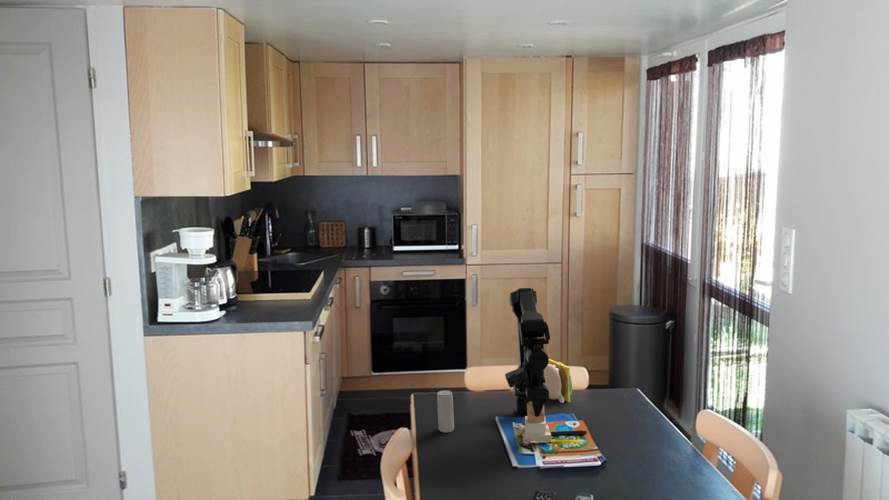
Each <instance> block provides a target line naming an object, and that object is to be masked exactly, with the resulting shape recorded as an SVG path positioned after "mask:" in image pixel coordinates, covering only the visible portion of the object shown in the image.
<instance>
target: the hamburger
mask: <svg viewBox="0 0 889 500" xmlns="http://www.w3.org/2000/svg"><path fill="white" fill-rule="evenodd" d="M544 377H545V383H543V384H544V385H545V386H547V387H548V390H549V398H548V399H550V400H558V401H559V402H560V403H561V404H564V403H565V401H566V402H567V403H571V395H572V392H573V380H572V377H571V373H570V367H569V366H567V365H565V364H564V363H562V362H561V361H555V360H552V359H550V358H549V363H548V365H547V367H546V368H545V369H544Z"/></svg>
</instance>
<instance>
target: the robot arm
mask: <svg viewBox="0 0 889 500" xmlns="http://www.w3.org/2000/svg"><path fill="white" fill-rule="evenodd" d="M537 296H538V295H537V291H536V290H534V288H531V287H519V288H517V289H516V290H515V291H511V292H510V293H509V307H511V311H512V313H513V315H514V316H515V317H516V319H517V336H518V339H517V340H518V356H519V357H518V358H519V364H518V366H517V368H516V369H513V370H511V371H508V372H507V373H505V374H504V377H505V380H506V382H507V384H508V387H509V389H510V388H511V389H513V390H512V391H513V394H514V397H516V409H514V410H513V412H514V413H517V414H520V415H524V416H527V403H528V402H530V401H532V405H533V409H534V414H535V417H539V415H540V413H541V410H542V408H543V406H544V407H545V403H546V400H548V399H550V398H549V390H548V387H547V386H545V385H544V384H543V383H545V377H544V369H545V368H546V367H547V365H548V363H549V359H550V358H549V355H548V354H547V352H546V350H545V348H544V345H549V343H550V342H549V341H550V340H551V335H550V329H549V325H548V324H547V321H545V319H544V316H543V314H542V313H540V312H538V311H537V307H536V306H537V303H538V298H537Z"/></svg>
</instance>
